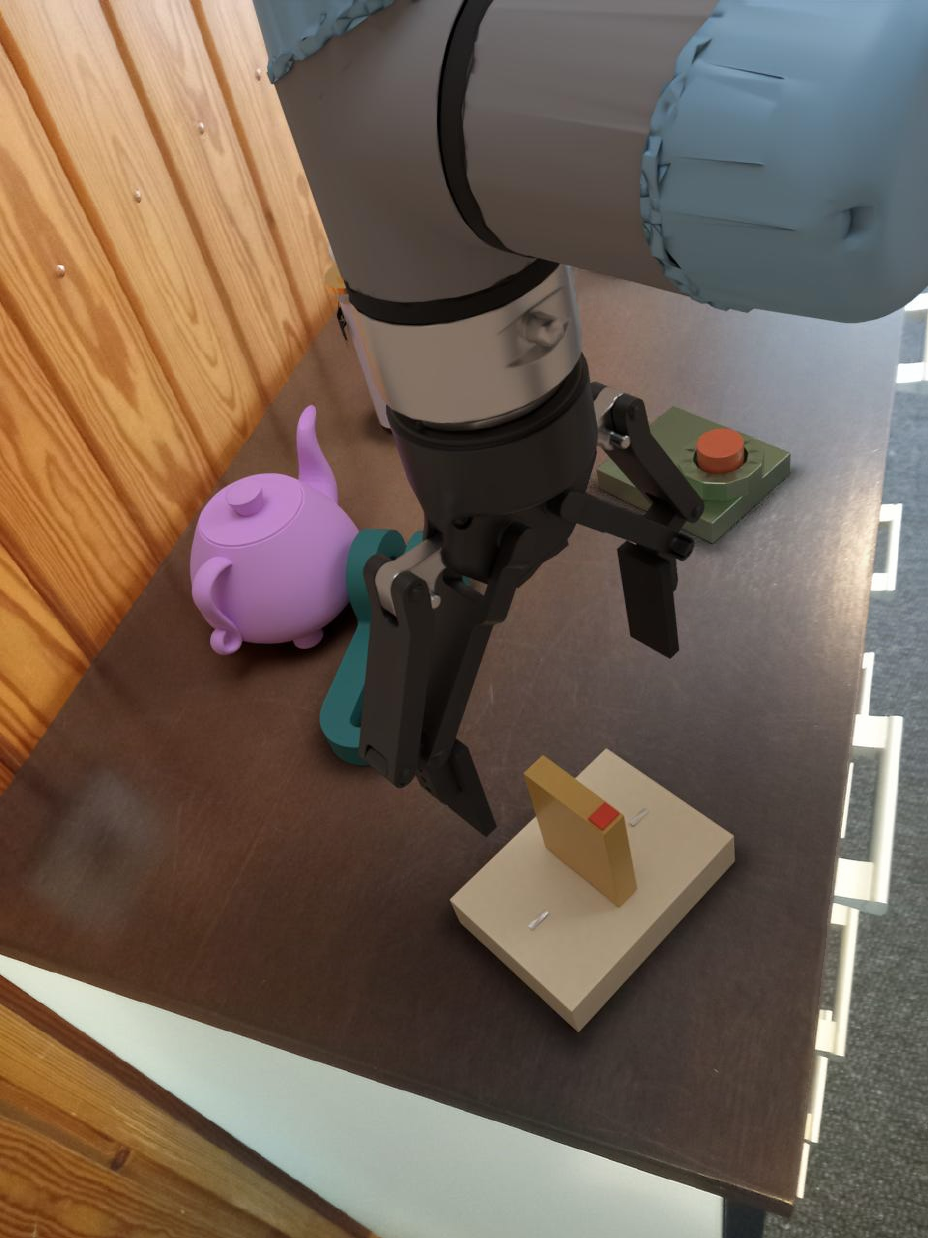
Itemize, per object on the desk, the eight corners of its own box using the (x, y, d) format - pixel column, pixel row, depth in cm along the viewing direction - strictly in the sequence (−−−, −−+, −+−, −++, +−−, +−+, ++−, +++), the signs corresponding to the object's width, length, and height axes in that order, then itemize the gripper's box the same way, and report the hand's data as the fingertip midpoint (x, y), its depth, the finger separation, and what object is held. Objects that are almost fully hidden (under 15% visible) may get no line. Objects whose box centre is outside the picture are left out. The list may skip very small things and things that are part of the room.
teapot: (292, 506, 95) (243, 394, 86) (426, 527, 89) (388, 409, 80) (169, 668, 84) (98, 559, 75) (312, 705, 78) (254, 591, 69)
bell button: (753, 455, 81) (753, 437, 80) (724, 480, 80) (724, 463, 79) (716, 440, 83) (715, 422, 82) (688, 464, 82) (686, 447, 81)
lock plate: (611, 773, 68) (605, 746, 66) (735, 861, 62) (734, 834, 60) (459, 922, 64) (448, 898, 61) (578, 1033, 57) (570, 1010, 55)
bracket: (394, 580, 86) (367, 510, 80) (470, 585, 83) (449, 513, 78) (315, 759, 75) (278, 692, 69) (401, 770, 72) (370, 702, 67)
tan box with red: (544, 847, 62) (521, 770, 56) (563, 829, 63) (542, 751, 57) (619, 908, 59) (603, 833, 53) (638, 889, 59) (623, 812, 53)
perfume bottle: (436, 399, 102) (382, 207, 88) (426, 436, 98) (368, 241, 84) (381, 404, 103) (319, 216, 89) (369, 441, 100) (302, 250, 85)
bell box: (793, 474, 84) (794, 435, 81) (715, 545, 81) (713, 507, 78) (674, 425, 91) (671, 388, 89) (599, 488, 88) (593, 451, 85)
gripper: (270, 629, 30) (438, 950, 45) (780, 229, 39) (779, 608, 54) (146, 533, 35) (337, 853, 50) (629, 194, 44) (667, 553, 59)
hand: (567, 726), depth 52 cm, fingers open, 13 cm apart
